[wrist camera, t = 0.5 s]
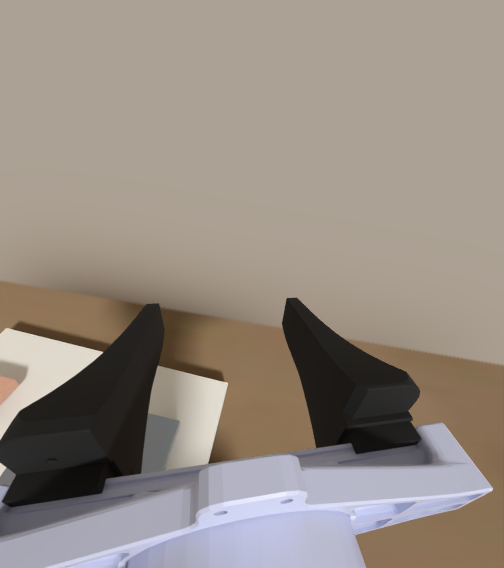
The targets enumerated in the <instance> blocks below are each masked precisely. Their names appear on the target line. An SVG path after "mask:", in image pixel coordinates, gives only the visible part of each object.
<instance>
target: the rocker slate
mask: <svg viewBox="0 0 504 568" xmlns="http://www.w3.org/2000/svg"><path fill="white" fill-rule="evenodd" d="M179 427H180V421H178V420H174V419H170V418H166V417H162V416H158V415H154V414H150V413H149V414H148V418H147V425H146V433H145V442H144V450H143V460H142V471H141V474H143V473H150V472H157V471H164V468H165V465H166V463H167V460H168V457H169V454H170V452H171V449H172V446H173V443H174V441H175V438H176V435H177V432H178V430H179Z"/></svg>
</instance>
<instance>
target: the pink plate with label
mask: <svg viewBox="0 0 504 568" xmlns="http://www.w3.org/2000/svg"><path fill="white" fill-rule="evenodd" d="M18 386H19V384H18V383H17V381H16V380H14V379H10V378H6V377H2V376H0V405H1V404H2V403H3V402H4V401H5V400H6V398H7V397H8V396H9V395H10V394H11V393H12V392H13V391H14V390H15V389H16V388H17V387H18Z"/></svg>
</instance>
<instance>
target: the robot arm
mask: <svg viewBox="0 0 504 568" xmlns="http://www.w3.org/2000/svg"><path fill="white" fill-rule="evenodd" d="M282 326H283V330H284V334H285V338H286V341H287V344H288V347H289V349H290V352H291V355H292V357H293V360H294V362H295V365H296V368H297V370H298V373H299V376H300V379H301V383H302V387H303V390H304V394H305V398H306V402H307V406H308V411H309V415H310V420H311V424H312V429H313V433H314V439H315V444H316V448H314V449H307V450H300V451H294V452H287V453H280V454H272V455H265V456H258V457H251V458H244V459H237V460H231V461H224V462H218V463H211V464H205V465H198V466H191V467H184V468H177V469H170V470H164V471H157V472H150V473H143V474H141V471H142V460H143V450H144V442H145V433H146V425H147V418H148V410H149V404H150V397H151V391H152V386H153V382H154V378H155V374H156V370H157V367H158V363H159V359H160V355H161V351H162V346H163V338H164V326H163V321H162V316H161V311H160V306H159V304H147V305H146V306H145V307H144V308H143V309H142V311H141V312H140V313H139V314H138V316H137V317H136V318H135V319H134V320H133V322H132V323H131V324H130V325H129V326H128V327H127V329H126V330H125V331H124V332H123V333H122V334H121V335H120V336H119V337H118V338H117V339H116V340H115V341H114V342H113V344H112V345H111V346H110V347H108V348H107V349H106V350H105V351H104V352H103V353H102V354H101V355H100V356H99V357H98V358H96V359H95V360H94V361H93V362H92V363H90V364H89V365H88V366H87V367H85V368H84V369H83V370H81V371H80V372H79V373H78V374H76V375H75V376H74V377H72V378H71V379H69V380H68V381H66V382H65V383H64V384H62V385H61V386H59V387H58V388H56V389H55V390H53V391H51V392H50V393H48V394H47V395H45V396H43V397H42V398H40V399H38V400H37V401H35V402H33V403H32V404H30V405H28V406H27V407H25V408H23V409H22V410H20V411H19V412H18V414H17V415H16V416H15V418H14V419H13V421H12V422H11V424H10V425H9V427H8V428H7V430H6V432H5V433H4V435H3V436H2V438H1V440H0V463H1V464H3V465H4V466H5V467H7V468H8V469H9V470H11V471H12V472H13V473H15V474H16V476H15V478H14V480H13V481H12V483H11V485H4V484H0V568H366V566H365V563H364V560H363V557H362V554H361V552H360V549H359V546H358V543H357V540H356V537H355V535H357V534H360V533H364V532H368V531H371V530H375V529H379V528H383V527H386V526H390V525H394V524H397V523H401V522H405V521H409V520H413V519H417V518H420V517H425V516H429V515H433V514H437V513H442V512H446V511H451V510H455V509H458V508H460V507H462V506H464V505H466V504H468V503H470V502H472V501H474V500H476V499H477V498H479V497H481V496H483V495H485V494H487V493H489V492H491V491H492V490H493V488H492V486H491V485H490V484H489V482H488V481H487V480H486V479H485V477H484V476H483V475H482V473H481V472H480V471H479V469H478V468H477V467H476V465H475V464H474V463H473V461H472V460H471V459H470V458H469V456H468V455H467V454H466V452H465V451H464V450H463V448H462V447H461V446H460V444H459V443H458V442H457V440H456V439H455V438H454V436H453V435H452V434H451V433H450V431H449V430H448V429H447V427H446V426H445V425H444V423H441V422H439V423H432V424H425V425H420V426H418V427H416V428H414V426H413V425H412V423H411V422H410V421H412V420H413V418H412V416H411V415H410V413H409V412H408V410H409V409H410V408H411V407H412V406H413V404H414V403H415V402H416V401H417V399H418V398H419V395H420V390H419V388H418V386H417V385H416V384H415V383H414V381H413V380H412V379H411V377H410V376H409V375H408V374H407V372H405V371H403V370H401V369H398V368H396V367H394V366H392V365H389V364H387V363H385V362H383V361H381V360H379V359H377V358H375V357H373V356H371V355H369V354H367V353H366V352H364V351H362V350H361V349H359V348H357V347H356V346H354V345H352V344H351V343H349V342H348V341H346V340H345V339H343V338H342V337H341V336H339V335H338V334H336V333H335V332H334V331H333V330H331V329H330V328H329V327H328V326H326V325H325V324H324V323H323V322H322V321H320V320H319V319H318V318H317V317H316V316H315V315H314V314H313V313H312V312H311V311H310V310H309V309H308V308H307V307H306V306H305V305H304V304H303V303H302V302H301V301H299V299H297V298H287V300H286V305H285V311H284V316H283V321H282Z"/></svg>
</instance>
